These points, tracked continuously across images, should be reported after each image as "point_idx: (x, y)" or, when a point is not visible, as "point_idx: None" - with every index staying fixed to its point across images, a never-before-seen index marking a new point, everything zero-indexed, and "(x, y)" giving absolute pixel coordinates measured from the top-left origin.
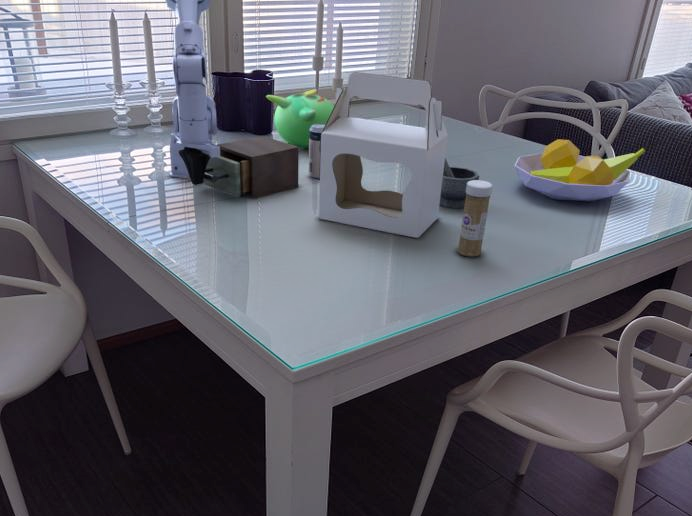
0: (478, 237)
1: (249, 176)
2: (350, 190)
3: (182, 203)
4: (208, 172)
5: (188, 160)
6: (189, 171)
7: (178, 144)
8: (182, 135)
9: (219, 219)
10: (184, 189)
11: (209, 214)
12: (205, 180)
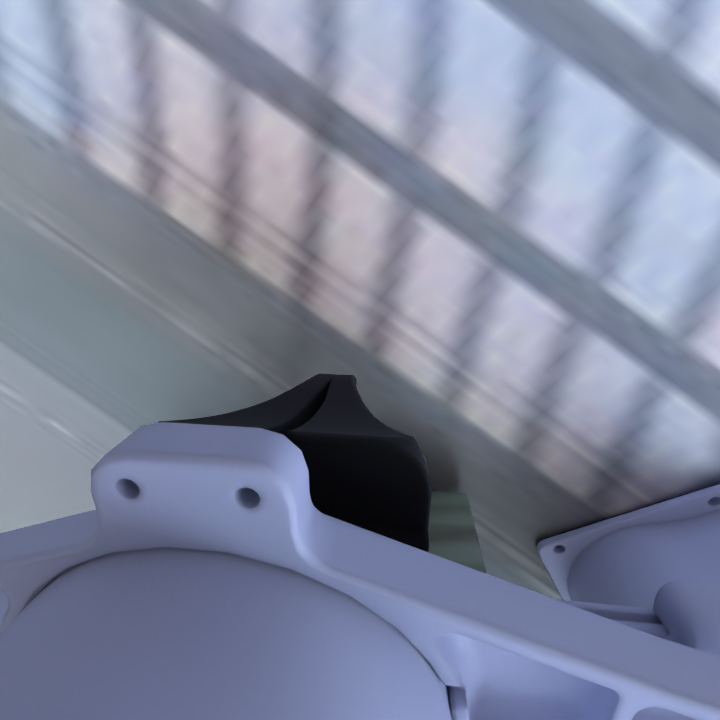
0: None
1: None
2: None
3: (361, 277)
4: (439, 544)
5: (269, 420)
6: (333, 395)
7: (196, 438)
8: (112, 705)
9: (76, 275)
10: (527, 411)
11: (155, 282)
12: (464, 508)
